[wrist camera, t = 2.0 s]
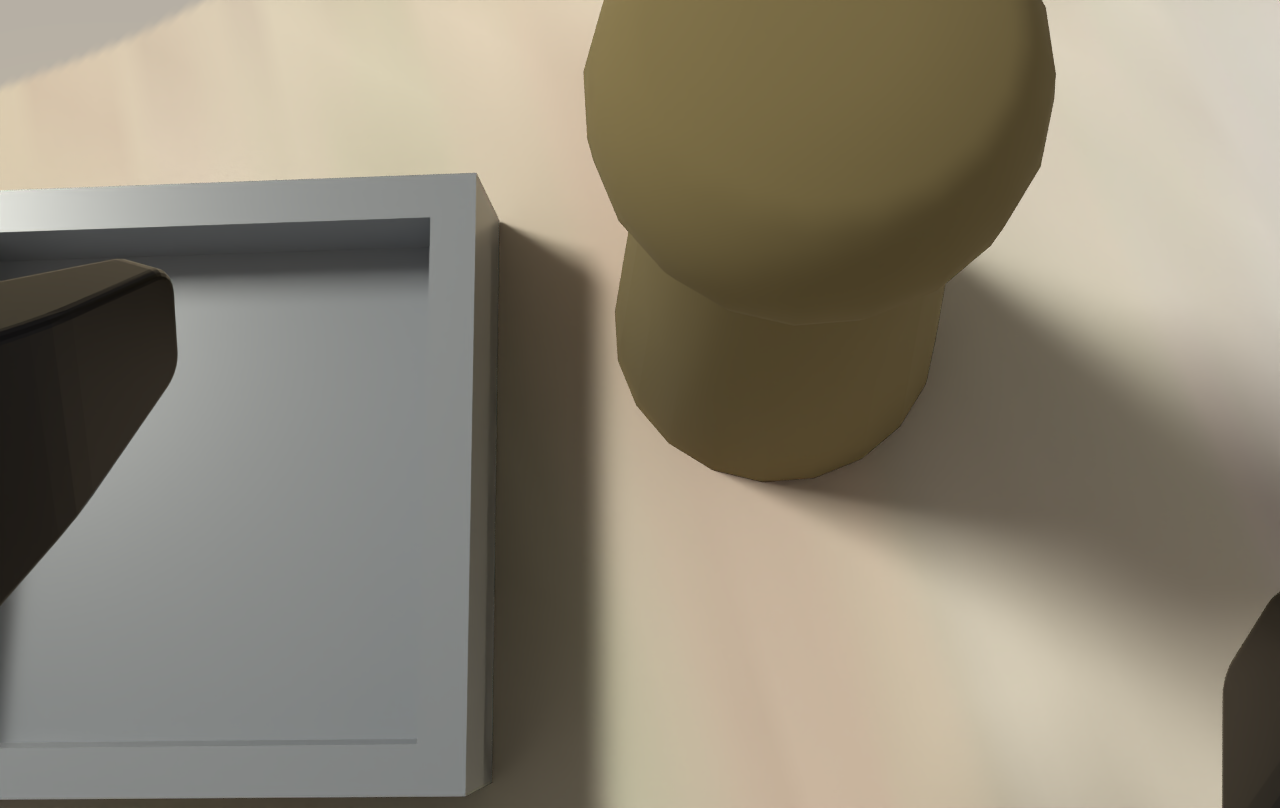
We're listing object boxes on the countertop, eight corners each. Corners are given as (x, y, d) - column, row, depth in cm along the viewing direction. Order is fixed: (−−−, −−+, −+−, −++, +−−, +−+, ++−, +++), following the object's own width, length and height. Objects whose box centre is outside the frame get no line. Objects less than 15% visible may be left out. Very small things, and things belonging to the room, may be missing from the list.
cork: (754, 114, 24) (788, -348, 13) (1003, 306, 22) (1267, -26, 12) (549, 340, 23) (401, 52, 12) (794, 549, 22) (873, 436, 11)
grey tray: (491, 782, 21) (465, 796, 19) (-82, 786, 22) (-175, 800, 19) (499, 220, 23) (476, 173, 21) (-21, 238, 24) (-97, 193, 22)
